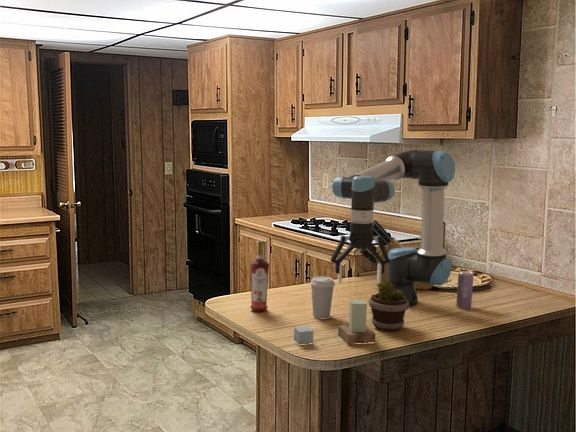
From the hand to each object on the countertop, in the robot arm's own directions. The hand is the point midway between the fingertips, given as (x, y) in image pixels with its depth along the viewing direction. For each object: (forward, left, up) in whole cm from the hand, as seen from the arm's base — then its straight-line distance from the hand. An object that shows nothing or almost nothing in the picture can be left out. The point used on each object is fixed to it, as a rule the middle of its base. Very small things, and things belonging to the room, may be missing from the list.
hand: (359, 282), depth 217 cm
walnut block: (0, 0, -21) cm, 21 cm away
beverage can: (-52, -38, -21) cm, 68 cm away
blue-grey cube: (+19, +3, -21) cm, 28 cm away
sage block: (0, 0, -17) cm, 17 cm away
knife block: (-32, -73, -21) cm, 82 cm away
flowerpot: (-14, -13, -21) cm, 28 cm away
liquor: (+33, -34, -21) cm, 52 cm away
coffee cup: (+9, -26, -21) cm, 34 cm away
